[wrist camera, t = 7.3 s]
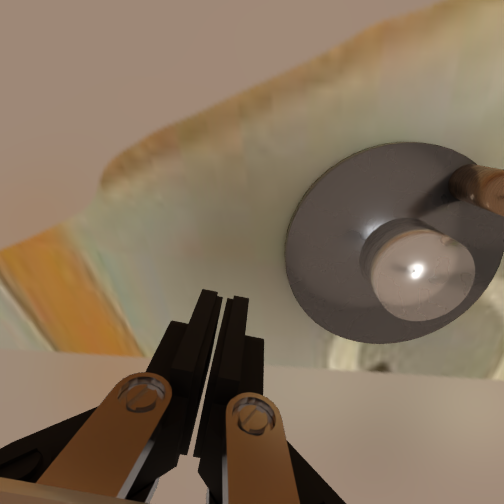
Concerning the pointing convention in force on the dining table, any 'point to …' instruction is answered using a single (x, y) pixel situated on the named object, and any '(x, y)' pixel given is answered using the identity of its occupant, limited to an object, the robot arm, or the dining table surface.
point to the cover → (416, 269)
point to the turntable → (379, 212)
